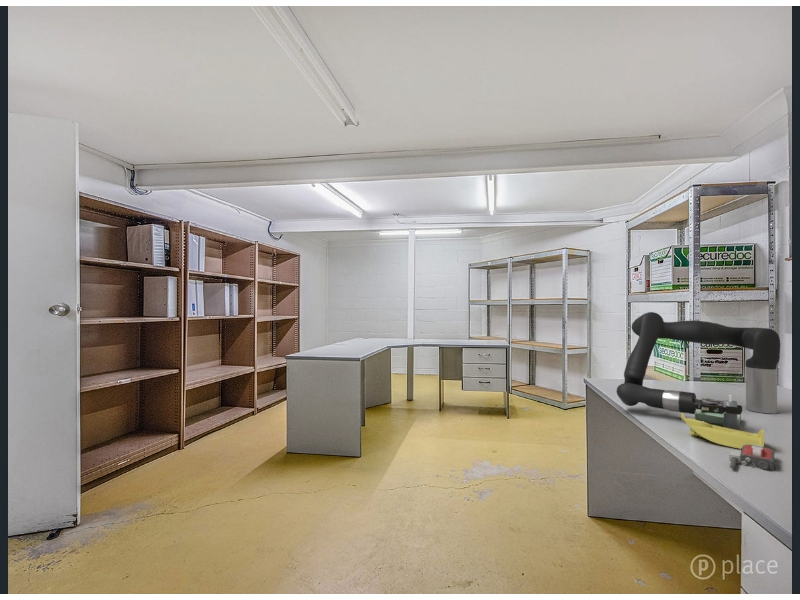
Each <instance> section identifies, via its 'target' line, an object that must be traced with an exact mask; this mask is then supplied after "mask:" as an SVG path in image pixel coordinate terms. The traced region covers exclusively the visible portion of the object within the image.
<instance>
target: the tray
mask: <svg viewBox="0 0 800 600" xmlns="http://www.w3.org/2000/svg"><path fill="white" fill-rule="evenodd" d="M737 416H738V429H739V428H740V426H741V425H740V424H741V421H742V413H741V414H740V415H738V414H737ZM694 419H696V420H698V421H704V422H706V423H707V422H709V423H708V424H713V423H714V424H713V425H719V424H720V425H721V426H724V413H723V414H717V413H706V412H705V413H703V412H701V410H699V409H696V412H695V414H694ZM720 425H719V426H720Z"/></svg>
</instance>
